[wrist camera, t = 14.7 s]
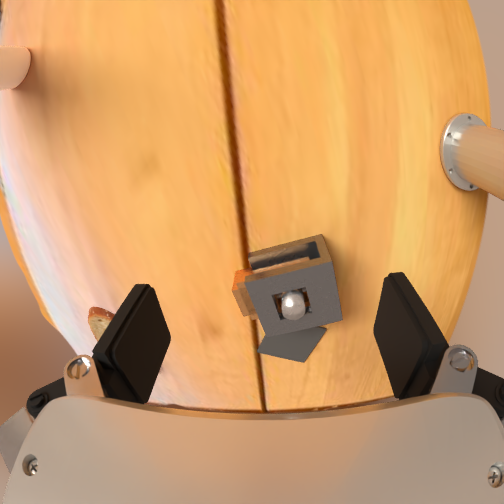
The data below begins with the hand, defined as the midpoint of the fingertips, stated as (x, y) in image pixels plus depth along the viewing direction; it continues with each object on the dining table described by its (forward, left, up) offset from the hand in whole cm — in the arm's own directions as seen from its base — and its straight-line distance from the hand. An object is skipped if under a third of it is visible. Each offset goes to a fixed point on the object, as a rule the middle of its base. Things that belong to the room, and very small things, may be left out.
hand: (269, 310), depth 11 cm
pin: (-8, +14, -28) cm, 33 cm away
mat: (-14, +28, -28) cm, 42 cm away
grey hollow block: (-8, +14, -28) cm, 33 cm away
